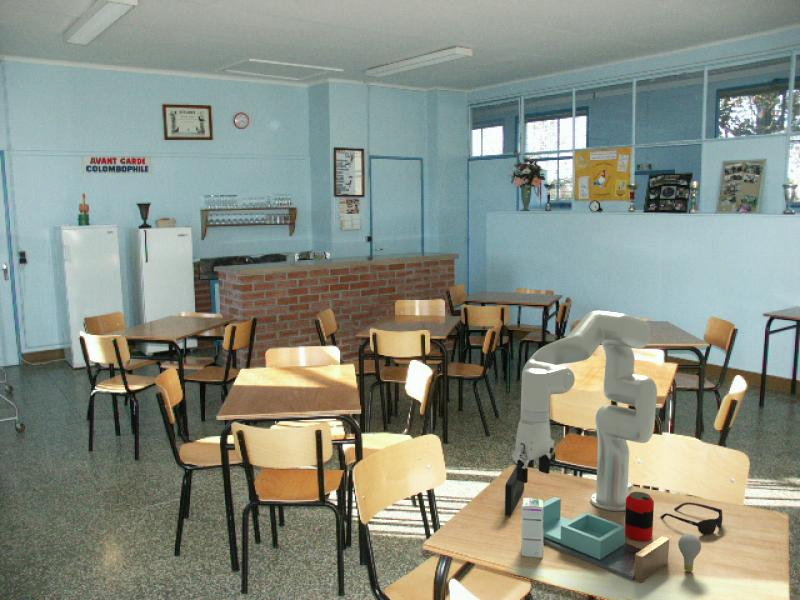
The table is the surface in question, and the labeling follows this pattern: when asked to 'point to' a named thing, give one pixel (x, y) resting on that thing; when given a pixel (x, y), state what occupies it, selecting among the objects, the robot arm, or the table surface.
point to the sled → (582, 531)
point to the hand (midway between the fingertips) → (533, 476)
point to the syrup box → (532, 527)
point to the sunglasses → (703, 526)
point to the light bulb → (689, 550)
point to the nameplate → (513, 492)
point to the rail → (626, 558)
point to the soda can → (639, 516)
